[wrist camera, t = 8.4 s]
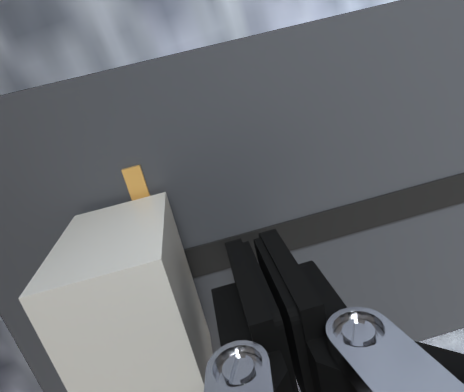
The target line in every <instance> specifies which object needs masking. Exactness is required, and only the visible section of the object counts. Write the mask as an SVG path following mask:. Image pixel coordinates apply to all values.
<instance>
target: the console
mask: <svg viewBox="0 0 464 392" xmlns="http://www.w3.org/2000/svg"><path fill="white" fill-rule="evenodd" d="M163 192H166V194H167V197H168V201H169V204H170V207H171V210H172V214H173V217H174V220H175V223H176V226H177V230H178V233H179V236H180V239H181V243H182V246H183V249H184V252H185V255H186V259H187V262H188V265H189V268H190V271H191V275H192V278H193V281H194V284H195V288H196V291H197V294H198V297H199V300H200V304H201V307H202V310H203V313H204V317H205V320H206V323H207V326H208V329H209V333H210V338H211V346H212V353H215V352H216V351H217V350H218V349H219V348H220V347H221V345H220V339H219V334H218V328H217V322H216V316H215V310H214V304H213V298H212V292H211V289H214V288H217V287H221V286H224V285H227V284H231V283H234V282H235V281H234V277H233V273H232V270H231V266H230V262H229V258H228V255H227V251H226V247H225V242H229V241H233V240H236V239H240V238H241V240H242V242H246V241H249V243H250V245H251V247H252V250H253V252H254V254H255V257H256V259H257V261H258V258H257V254H256V250H255V246H254V241H253V239H256V238H259V233H261V232H265V231H268V230H272V229H276V230H277V232H278V233H279V235H280V237H281V238H282V240H283V241H284V243H285V244H286V246H287V247H288V249H289V251H290V252H291V254H292V255H293V257H294V258H295V260H296V262H297V263H298V264H301V263H304V262H308V261H313V262H314V263H315V264H316V265H317V267H318V268H319V269H320V271H321V272H322V273H323V275H324V276H325V278H326V279H327V280H328V282H329V283H330V284H331V286H332V287H333V288H334V290H335V291H336V293H337V294H338V295H339V297H340V298H341V299H342V301H343V302H344V304H345V305H346V306H347V308H348V307H365V308H370V309H373V310H376V311H378V312H379V313H381V314H382V315H384V316H385V317H387V318H388V319H389V320H390V321H391V322H392V323H393V324H395V325H396V326H397V327H398V328H399V329H400V330H402V331H403V332H404V333H405V334H406V335H407V336H409V337H410V338H411V339H412V340H413V341H416V342H419V341H422V340H425V339H429V338H432V337H435V336H439V335H442V334H445V333H448V332H452V331H455V330H458V329H462V328H464V0H399V1H395V2H391V3H387V4H383V5H378V6H374V7H370V8H366V9H362V10H357V11H353V12H349V13H345V14H341V15H336V16H332V17H328V18H324V19H320V20H315V21H311V22H307V23H303V24H298V25H294V26H290V27H286V28H282V29H277V30H273V31H269V32H265V33H261V34H256V35H252V36H248V37H244V38H240V39H235V40H231V41H227V42H223V43H219V44H214V45H210V46H206V47H202V48H198V49H193V50H189V51H185V52H181V53H177V54H172V55H168V56H164V57H160V58H156V59H151V60H147V61H143V62H139V63H135V64H130V65H126V66H122V67H118V68H113V69H109V70H105V71H101V72H97V73H92V74H88V75H84V76H80V77H76V78H71V79H67V80H63V81H59V82H55V83H50V84H46V85H42V86H38V87H34V88H29V89H25V90H21V91H17V92H13V93H8V94H4V95H0V315H1V317H2V319H3V321H4V322H5V324H6V326H7V328H8V330H9V331H10V333H11V335H12V337H13V338H14V340H15V342H16V344H17V346H18V347H19V349H20V351H21V353H22V354H23V356H24V358H25V360H26V362H27V363H28V365H29V367H30V369H31V370H32V372H33V374H34V376H35V378H36V379H37V381H38V383H39V385H40V386H41V388H42V390H43V392H68V391H67V390H66V388H65V386H64V384H63V382H62V380H61V378H60V376H59V374H58V373H57V371H56V369H55V367H54V365H53V363H52V361H51V359H50V357H49V356H48V354H47V352H46V350H45V348H44V346H43V344H42V342H41V340H40V339H39V337H38V335H37V333H36V331H35V329H34V327H33V325H32V323H31V322H30V320H29V318H28V316H27V314H26V312H25V310H24V308H23V306H22V305H21V303H20V301H19V299H18V298H19V297H20V295H21V294H22V292H23V291H24V289H25V288H26V286H27V285H28V283H29V282H30V281H31V279H32V278H33V276H34V275H35V273H36V272H37V270H38V269H39V267H40V266H41V264H42V263H43V262H44V260H45V259H46V257H47V256H48V254H49V253H50V251H51V250H52V248H53V247H54V245H55V244H56V242H57V241H58V240H59V238H60V237H61V235H62V234H63V232H64V231H65V229H66V228H67V226H68V225H69V223H70V222H71V220H72V219H73V218H74V216H76V215H80V214H83V213H87V212H91V211H95V210H99V209H102V208H106V207H110V206H114V205H118V204H121V203H125V202H129V201H133V200H137V199H140V198H144V197H148V196H152V195H156V194H159V193H163ZM295 378H296V377H295Z"/></svg>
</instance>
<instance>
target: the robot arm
mask: <svg viewBox="0 0 464 392" xmlns="http://www.w3.org/2000/svg"><path fill="white" fill-rule="evenodd" d="M253 241H254V246H255V250H256V254H257V258H258V261H257V259H256V257H255V254H254V252H253V250H252V247H251V245H250V243H249V241H246V242H242V240H241V238H240V239H236V240H233V241H229V242H225V247H226V251H227V255H228V258H229V262H230V266H231V270H232V273H233V277H234V281H235V282H234V283H231V284H227V285H224V286H221V287H217V288H214V289H211V292H212V298H213V304H214V310H215V316H216V322H217V328H218V334H219V339H220V345H221V347H220V348H219V349H218V350H217V351H216V352H215V353H213V354H212V356H211V358H210V359H209V361H208V363H207V367H206V371H205V384H204V392H298V388H297V383H296V379H297V382H298V385H299V387H300V390H301V392H464V354H461V353H457V352H454V351H450V350H446V349H442V348H439V347H435V346H431V345H427V344H424V343H420V342H416V341H413V340H412V339H411V338H410V337H409V336H407V335H406V334H405V333H404V332H403V331H402V330H400V329H399V328H398V327H397V326H396V325H395V324H393V323H392V322H391V321H390V320H389V319H388V318H387V317H385V316H384V315H382V314H381V313H379V312H378V311H376V310H373V309H370V308H365V307H348V308H347V306H346V305H345V304H344V302H343V301H342V299H341V298H340V297H339V295H338V294H337V293H336V291H335V290H334V288H333V287H332V286H331V284H330V283H329V282H328V280H327V279H326V278H325V276H324V275H323V273H322V272H321V271H320V269H319V268H318V267H317V265H316V264H315V263H314V262H313V261H308V262H304V263H301V264H298V263H297V262H296V260H295V258H294V257H293V255H292V254H291V252H290V251H289V249H288V247H287V246H286V244H285V243H284V241H283V240H282V238H281V237H280V235H279V233H278V232H277V230H276V229H272V230H268V231H265V232H261V233H259V238H256V239H253ZM295 377H296V378H295Z"/></svg>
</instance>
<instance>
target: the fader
mask: <svg viewBox="0 0 464 392" xmlns="http://www.w3.org/2000/svg"><path fill="white" fill-rule="evenodd" d="M18 299H19V301H20V303H21V305H22V306H23V308H24V310H25V312H26V314H27V316H28V318H29V320H30V322H31V323H32V325H33V327H34V329H35V331H36V333H37V335H38V337H39V339H40V340H41V342H42V344H43V346H44V348H45V350H46V352H47V354H48V356H49V357H50V359H51V361H52V363H53V365H54V367H55V369H56V371H57V373H58V374H59V376H60V378H61V380H62V382H63V384H64V386H65V388H66V390H67V391H68V392H204V384H205V371H206V367H207V363H208V361H209V359H210V358H211V356H212V354H213V353H212V346H211V338H210V333H209V329H208V326H207V323H206V320H205V317H204V313H203V310H202V307H201V304H200V300H199V297H198V294H197V291H196V288H195V284H194V281H193V278H192V275H191V271H190V268H189V265H188V262H187V259H186V255H185V252H184V249H183V246H182V243H181V239H180V236H179V233H178V230H177V226H176V223H175V220H174V217H173V214H172V210H171V207H170V204H169V201H168V197H167V194H166V192H163V193H159V194H156V195H152V196H148V197H144V198H140V199H137V200H133V201H129V202H125V203H121V204H118V205H114V206H110V207H106V208H102V209H99V210H95V211H91V212H87V213H83V214H80V215H76V216H74V218H73V219H72V220H71V222H70V223H69V225H68V226H67V228H66V229H65V231H64V232H63V234H62V235H61V237H60V238H59V240H58V241H57V242H56V244H55V245H54V247H53V248H52V250H51V251H50V253H49V254H48V256H47V257H46V259H45V260H44V262H43V263H42V264H41V266H40V267H39V269H38V270H37V272H36V273H35V275H34V276H33V278H32V279H31V281H30V282H29V283H28V285H27V286H26V288H25V289H24V291H23V292H22V294H21V295H20V297H19V298H18Z"/></svg>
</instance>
